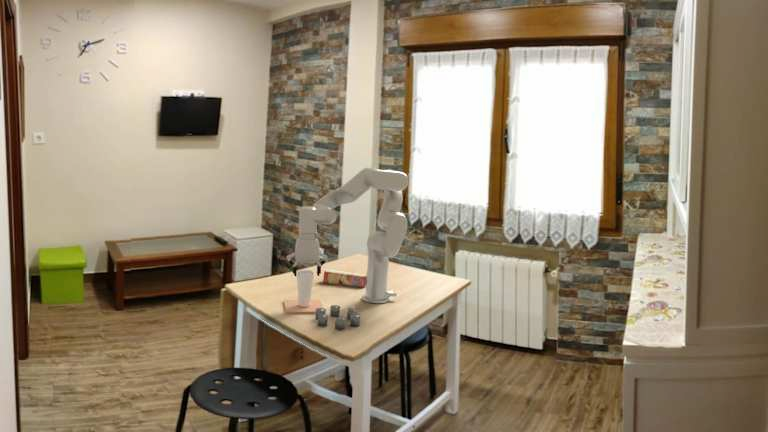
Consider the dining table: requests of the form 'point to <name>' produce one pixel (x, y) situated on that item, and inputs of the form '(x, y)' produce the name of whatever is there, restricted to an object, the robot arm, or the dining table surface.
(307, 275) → the drinking glass
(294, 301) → the terracotta tile
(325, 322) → the spacer posts
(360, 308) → the dining table surface
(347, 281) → the snack package
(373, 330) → the dining table surface
